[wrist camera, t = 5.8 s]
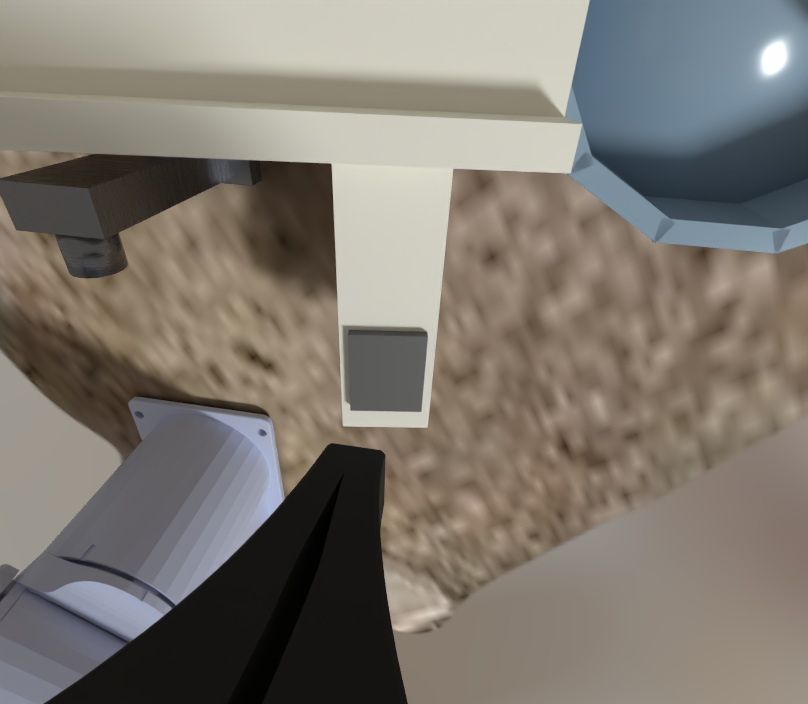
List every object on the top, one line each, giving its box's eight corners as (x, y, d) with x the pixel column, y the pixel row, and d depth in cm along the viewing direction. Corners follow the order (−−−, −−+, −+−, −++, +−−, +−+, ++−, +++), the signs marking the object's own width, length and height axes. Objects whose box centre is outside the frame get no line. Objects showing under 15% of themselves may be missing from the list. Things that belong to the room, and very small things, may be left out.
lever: (491, 410, 17) (507, 467, 15) (-179, 397, 16) (-277, 457, 14) (647, -361, 8) (761, -545, 5) (-983, -516, 6) (-1754, -832, 4)
